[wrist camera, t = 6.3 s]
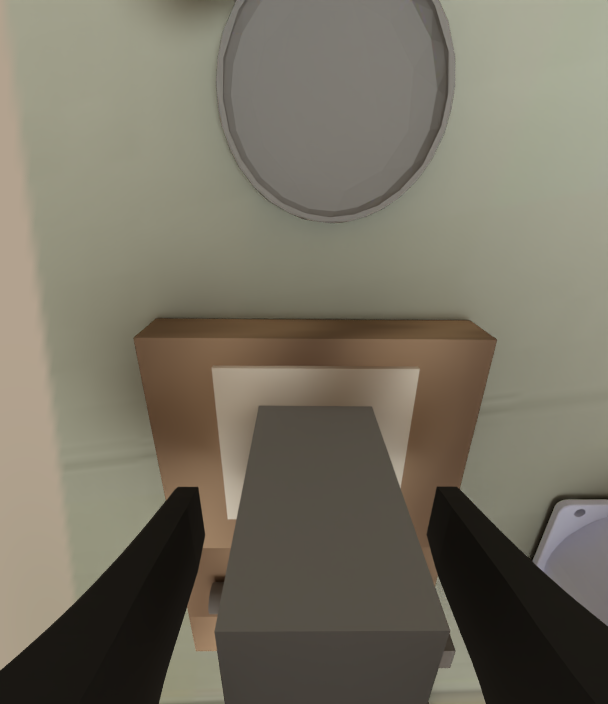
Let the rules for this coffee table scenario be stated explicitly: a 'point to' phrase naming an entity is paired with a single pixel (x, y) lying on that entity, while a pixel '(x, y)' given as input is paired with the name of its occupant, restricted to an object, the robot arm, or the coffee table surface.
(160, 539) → the robot arm
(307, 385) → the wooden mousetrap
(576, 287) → the coffee table surface
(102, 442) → the coffee table surface
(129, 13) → the coffee table surface
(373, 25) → the pocket watch
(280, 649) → the gray rectangular block
